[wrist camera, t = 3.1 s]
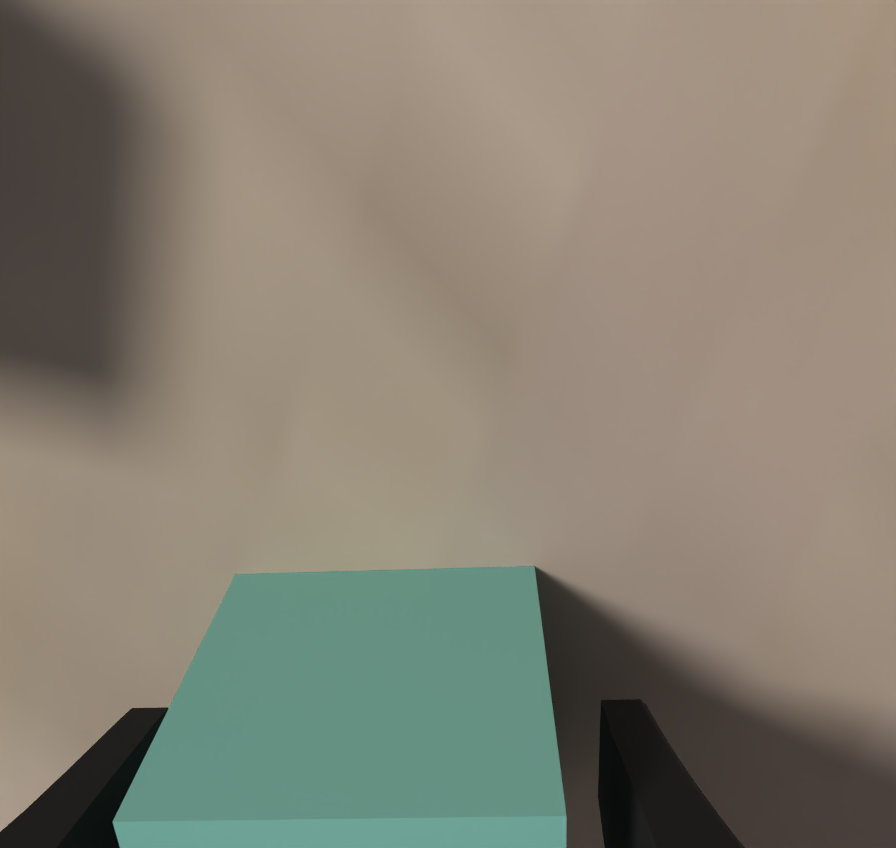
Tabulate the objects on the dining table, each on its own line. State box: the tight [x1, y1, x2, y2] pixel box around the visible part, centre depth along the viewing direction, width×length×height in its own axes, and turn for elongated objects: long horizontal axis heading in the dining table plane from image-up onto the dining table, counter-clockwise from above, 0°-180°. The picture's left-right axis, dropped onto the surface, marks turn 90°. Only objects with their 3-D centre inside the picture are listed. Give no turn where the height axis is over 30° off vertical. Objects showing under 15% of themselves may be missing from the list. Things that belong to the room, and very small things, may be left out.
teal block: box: [113, 566, 567, 848], centre depth 12 cm, size 5×5×5 cm
